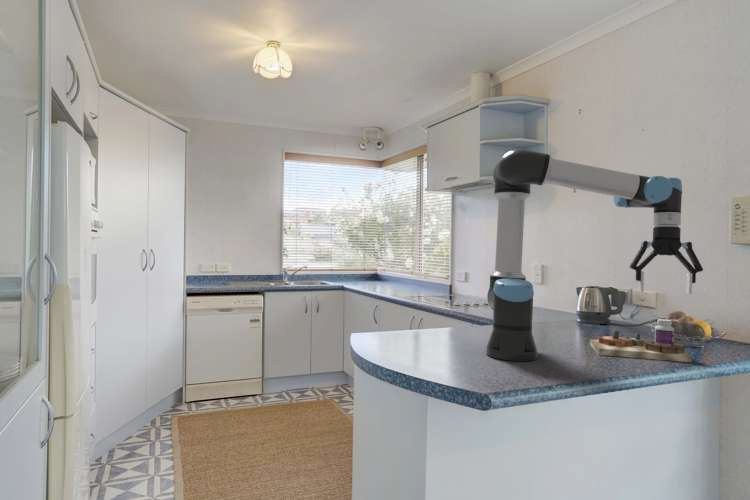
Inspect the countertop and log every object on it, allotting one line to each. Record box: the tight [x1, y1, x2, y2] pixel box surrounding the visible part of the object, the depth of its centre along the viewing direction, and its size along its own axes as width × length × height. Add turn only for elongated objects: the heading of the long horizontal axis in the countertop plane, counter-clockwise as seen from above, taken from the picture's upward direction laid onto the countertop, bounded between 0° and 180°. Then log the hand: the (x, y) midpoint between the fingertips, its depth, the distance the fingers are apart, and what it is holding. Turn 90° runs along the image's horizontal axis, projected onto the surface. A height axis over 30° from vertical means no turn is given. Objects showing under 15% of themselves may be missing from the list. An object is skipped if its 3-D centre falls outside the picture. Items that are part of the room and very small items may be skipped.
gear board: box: [589, 329, 693, 363], centre depth 155 cm, size 26×17×6 cm, turn 74°
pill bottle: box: [654, 318, 675, 346], centre depth 151 cm, size 5×5×10 cm
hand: (664, 292), depth 151 cm, fingers open, 13 cm apart
